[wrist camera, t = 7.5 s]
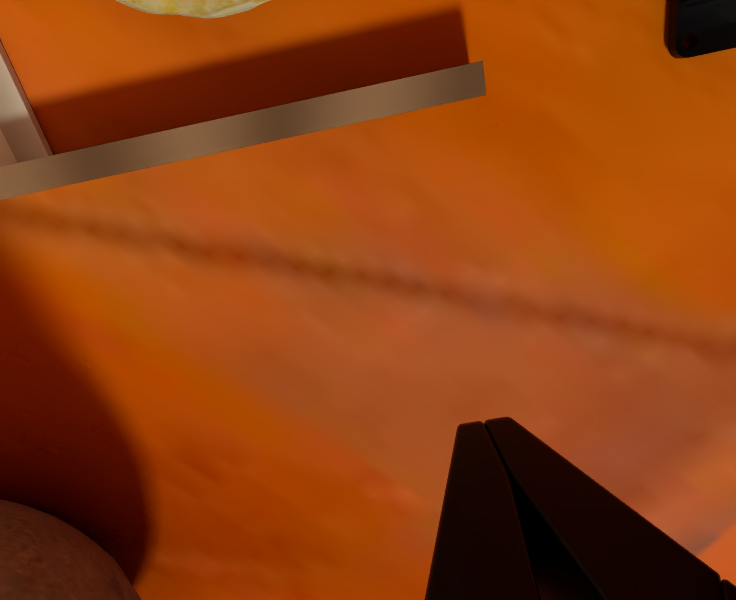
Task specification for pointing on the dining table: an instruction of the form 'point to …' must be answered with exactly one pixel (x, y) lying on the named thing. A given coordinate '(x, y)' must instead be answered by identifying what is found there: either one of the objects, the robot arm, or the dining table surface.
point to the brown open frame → (205, 128)
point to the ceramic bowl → (54, 560)
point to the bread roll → (194, 7)
